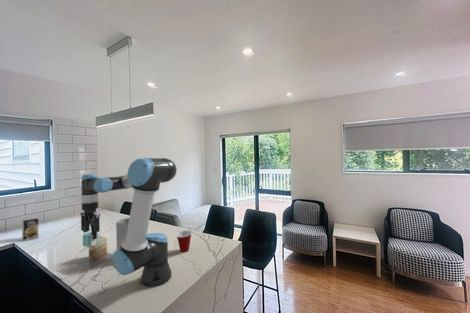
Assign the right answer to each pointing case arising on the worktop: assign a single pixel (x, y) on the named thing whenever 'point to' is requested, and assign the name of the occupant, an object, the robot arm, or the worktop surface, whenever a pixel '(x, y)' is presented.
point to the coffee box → (30, 229)
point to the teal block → (88, 239)
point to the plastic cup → (184, 240)
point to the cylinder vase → (121, 231)
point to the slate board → (91, 263)
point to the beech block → (99, 244)
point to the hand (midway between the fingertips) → (90, 244)
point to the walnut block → (98, 254)
